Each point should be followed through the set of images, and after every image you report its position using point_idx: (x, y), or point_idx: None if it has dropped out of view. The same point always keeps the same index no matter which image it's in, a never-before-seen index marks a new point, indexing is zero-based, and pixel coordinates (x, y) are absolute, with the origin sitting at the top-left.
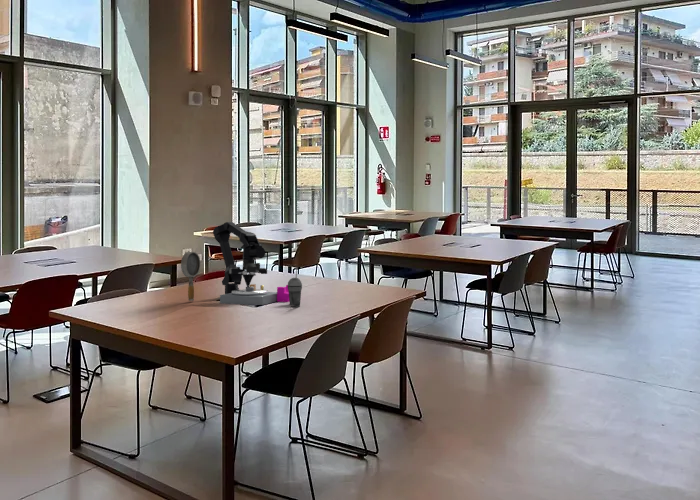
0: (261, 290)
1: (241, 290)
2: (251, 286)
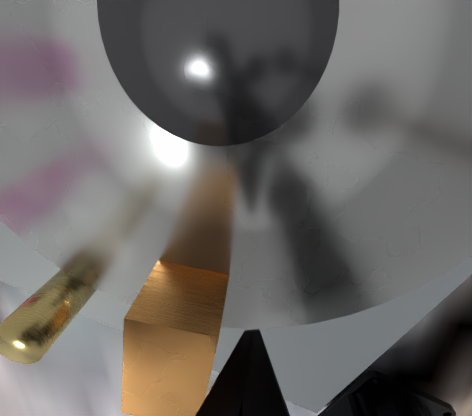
0: (13, 111)
1: (385, 166)
2: (191, 306)
